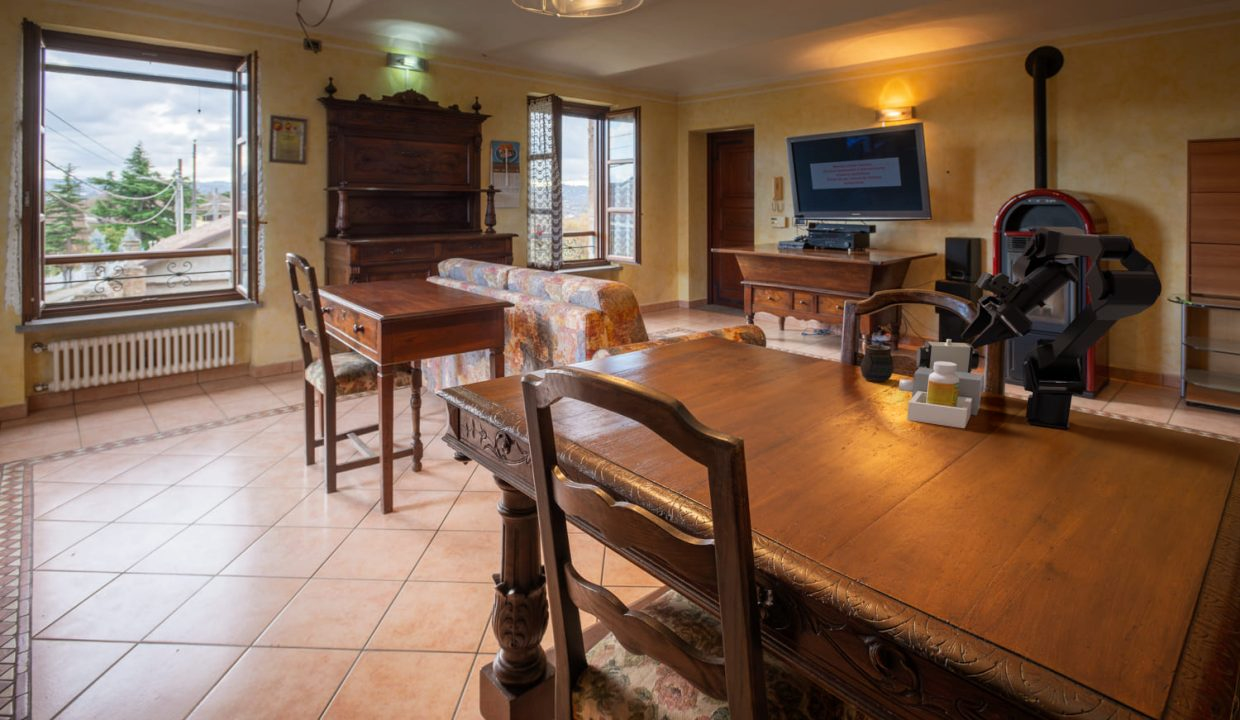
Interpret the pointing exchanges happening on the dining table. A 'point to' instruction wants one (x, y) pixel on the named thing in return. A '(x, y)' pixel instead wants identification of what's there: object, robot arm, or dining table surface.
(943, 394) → the supplement bottle
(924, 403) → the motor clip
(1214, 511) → the dining table surface
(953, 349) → the pneumatic valve
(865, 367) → the mate gourd
